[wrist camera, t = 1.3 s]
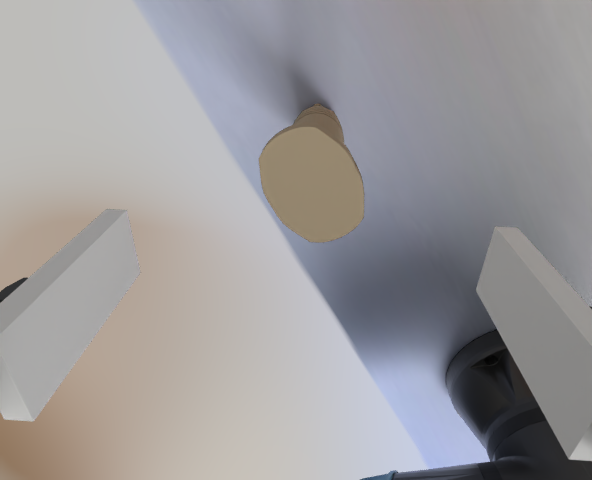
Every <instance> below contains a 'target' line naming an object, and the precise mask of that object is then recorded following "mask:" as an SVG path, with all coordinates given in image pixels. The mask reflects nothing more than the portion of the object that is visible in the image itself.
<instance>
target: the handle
mask: <svg viewBox="0 0 592 480" xmlns="http://www.w3.org/2000/svg"><path fill="white" fill-rule="evenodd" d="M259 166H260V175H261V183H262V187H263V191H264V194H265V196H266V198H267V200H268V202H269V204H270V205H271V207H272V208H273V210H274V211H275V213H276V215H277V216H278V218H279V219H280V220H281V221H282V223H283V224H285V225H286V226H287V227H288V228H289V229H291V230H292V231H294V232H295V233H297V234H298V235H300V236H301V237H303V238H304V239H306V240H308V241H309V242H328V241H332V240H335V239H338V238H341V237H342V236H344V235H346V234H348V233H349V232H351V231H352V230H354V229H355V228H356V227H357V226H358V224H359V223H360V222H361V221H362V219H363V218H364V189H363V181H362V177H361V174H360V172H359V169H358V167H357V165H356V163H355V161H354V159H353V157H352V155H351V153H350V152H349V150H348V148H347V147H346V145H344V137H343V132H342V128H341V125H340V123H339V120H338V119H337V116H336V114H335V113H334V112H333V111H331V110H329V109H327V108H325V107H322V106H321V104H314V106H313V107H310V108H308V109H306V110H304V111H302V112H301V114H300V115H299V116H298V117H297V119H296V120H295V122H294V124H293V125H292V126H289V127H287V128H285V129H283V130H282V131H280V132H279V133H277V134H276V135H275V136H274V137H273V138H271V139H270V140H269V141H268V143H267V144H266V146H265V147H264V149H263V151H262V153H261V155H260V158H259Z"/></svg>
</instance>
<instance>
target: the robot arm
mask: <svg viewBox="0 0 592 480" xmlns="http://www.w3.org/2000/svg"><path fill="white" fill-rule="evenodd" d="M139 274H140V268H139V263H138V259H137V254H136V250H135V245H134V240H133V236H132V231H131V226H130V222H129V217H128V213H127V210H114V209H106V210H105V211H104V212H103V213H102V214H101V215H99V216H98V217H97V218H96V219H95V220H94V221H92V222H91V223H90V224H89V225H88V226H87V227H86V228H85V229H84V230H82V231H81V232H80V233H79V234H78V235H77V236H76V237H74V239H72V240H71V241H70V242H69V243H68V244H67V245H65V246H64V247H63V248H62V249H61V250H60V251H59V252H57V254H56V255H54V256H53V257H52V258H51V259H50V260H48V261H47V262H46V263H45V264H44V265H43V266H42V267H41V268H40V269H38V270H37V271H36V272H35V273H34V274H33V275H32V276H30V277H29V278H23V279H21V280H19V281H17V282H15V283H13V284H11V285H9V286H7V287H6V288H4V289H3V290H2V291H1V292H0V412H1V414H2V416H3V418H4V419H7V420H22V421H34V420H35V419H36V417H37V416H38V415H39V413H40V412H41V410H42V409H43V407H44V406H45V405H46V403H47V402H48V401H49V399H50V398H51V396H52V395H53V394H54V392H55V391H56V390H57V388H58V387H59V385H60V384H61V383H62V381H63V380H64V378H65V377H66V376H67V374H68V373H69V371H70V370H71V369H72V367H73V366H74V364H75V363H76V361H77V360H78V359H79V358H80V356H81V355H82V353H83V352H84V351H85V349H86V348H87V346H88V345H89V344H90V342H91V341H92V339H93V338H94V336H95V335H96V334H97V332H98V331H99V330H100V328H101V327H102V326H103V324H104V323H105V321H106V320H107V318H108V317H109V316H110V314H111V313H112V312H113V310H114V309H115V307H116V306H117V305H118V303H119V302H120V300H121V299H122V298H123V296H124V295H125V293H126V292H127V291H128V289H129V288H130V287H131V285H132V284H133V282H134V281H135V280H136V278H137V277H138V275H139ZM476 292H477V294H478V295H479V297H480V299H481V301H482V303H483V304H484V306H485V308H486V310H487V312H488V314H489V315H490V317H491V319H492V321H493V323H494V324H495V326H496V328H497V330H496V331H493V332H490V333H488V334H486V335H483V336H481V337H479V338H477V339H476V340H474V341H472V342H471V343H469V344H468V345H467V346H465V347H464V348H463V349H462V350H461V351H460V352H459V353H458V354H457V355H456V356H455V358H454V359H453V361H452V362H451V364H450V366H449V368H448V371H447V376H446V385H447V389H448V392H449V395H450V398H451V401H452V404H453V406H454V408H455V410H456V411H457V413H458V414H459V415H460V417H461V418H462V419H463V420H464V421H465V423H466V424H467V426H468V427H469V428H470V430H471V431H472V432H473V433H474V435H475V436H476V437H477V439H478V440H479V441H480V442H481V444H482V445H483V446H484V448H485V449H486V451H487V453H488V456H489V459H490V462H485V463H474V464H466V465H459V466H451V467H443V468H436V469H428V470H420V471H411V472H402V473H398V472H397V471H396V470H395V471H391V472H389V473H388V474H384V475H379V476H374V477H368V478H363V479H360V480H592V307H589V306H588V304H587V303H586V302H585V301H584V300H583V299H582V298H581V297H580V296H579V295H578V293H577V292H576V291H575V290H574V289H573V288H572V287H571V286H570V285H569V284H568V282H567V281H566V280H565V279H564V278H563V277H562V276H561V275H560V274H559V273H558V271H557V270H556V269H555V268H554V267H553V266H552V265H551V264H550V263H549V262H548V260H547V259H546V258H545V257H544V256H543V255H542V254H541V253H540V252H539V251H538V250H537V248H536V247H535V246H534V245H533V244H532V243H531V242H530V241H529V240H528V239H527V237H526V236H525V235H524V234H523V233H522V232H521V231H520V230H519V229H518V228H517V227H495V228H494V231H493V235H492V238H491V241H490V245H489V248H488V251H487V254H486V258H485V261H484V264H483V268H482V271H481V274H480V277H479V281H478V284H477V287H476Z"/></svg>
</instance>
